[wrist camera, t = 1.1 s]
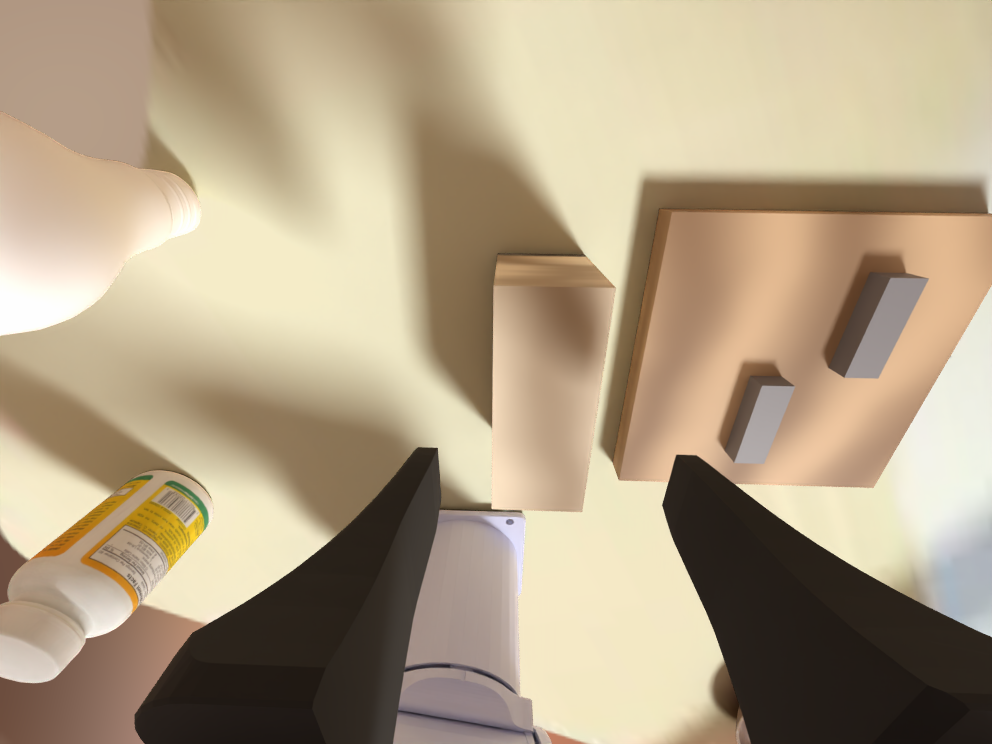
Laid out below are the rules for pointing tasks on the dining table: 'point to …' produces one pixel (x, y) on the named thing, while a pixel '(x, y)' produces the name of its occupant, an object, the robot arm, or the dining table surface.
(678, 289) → the oak board
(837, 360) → the grey rectangular block
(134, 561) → the supplement bottle
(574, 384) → the block
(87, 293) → the lightbulb
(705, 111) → the dining table surface
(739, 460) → the small gray block
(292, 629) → the robot arm
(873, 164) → the dining table surface
